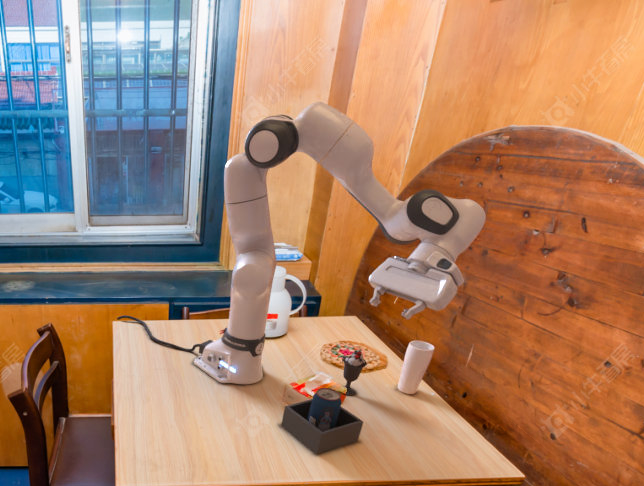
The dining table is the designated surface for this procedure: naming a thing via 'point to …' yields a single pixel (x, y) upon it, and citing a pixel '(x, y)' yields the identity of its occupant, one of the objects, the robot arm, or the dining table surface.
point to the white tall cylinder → (415, 366)
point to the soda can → (325, 409)
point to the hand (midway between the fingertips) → (387, 310)
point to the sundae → (353, 369)
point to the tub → (315, 438)
